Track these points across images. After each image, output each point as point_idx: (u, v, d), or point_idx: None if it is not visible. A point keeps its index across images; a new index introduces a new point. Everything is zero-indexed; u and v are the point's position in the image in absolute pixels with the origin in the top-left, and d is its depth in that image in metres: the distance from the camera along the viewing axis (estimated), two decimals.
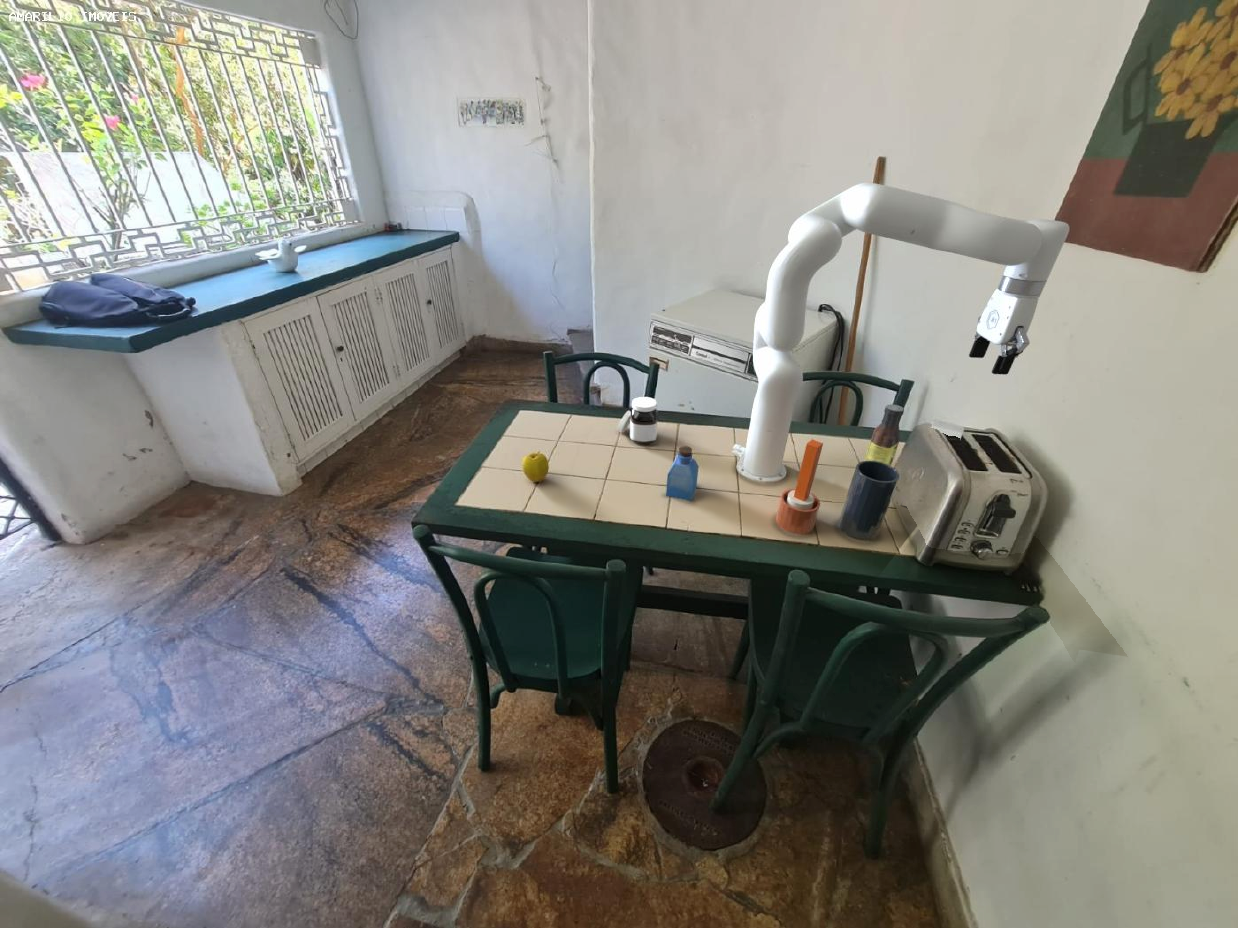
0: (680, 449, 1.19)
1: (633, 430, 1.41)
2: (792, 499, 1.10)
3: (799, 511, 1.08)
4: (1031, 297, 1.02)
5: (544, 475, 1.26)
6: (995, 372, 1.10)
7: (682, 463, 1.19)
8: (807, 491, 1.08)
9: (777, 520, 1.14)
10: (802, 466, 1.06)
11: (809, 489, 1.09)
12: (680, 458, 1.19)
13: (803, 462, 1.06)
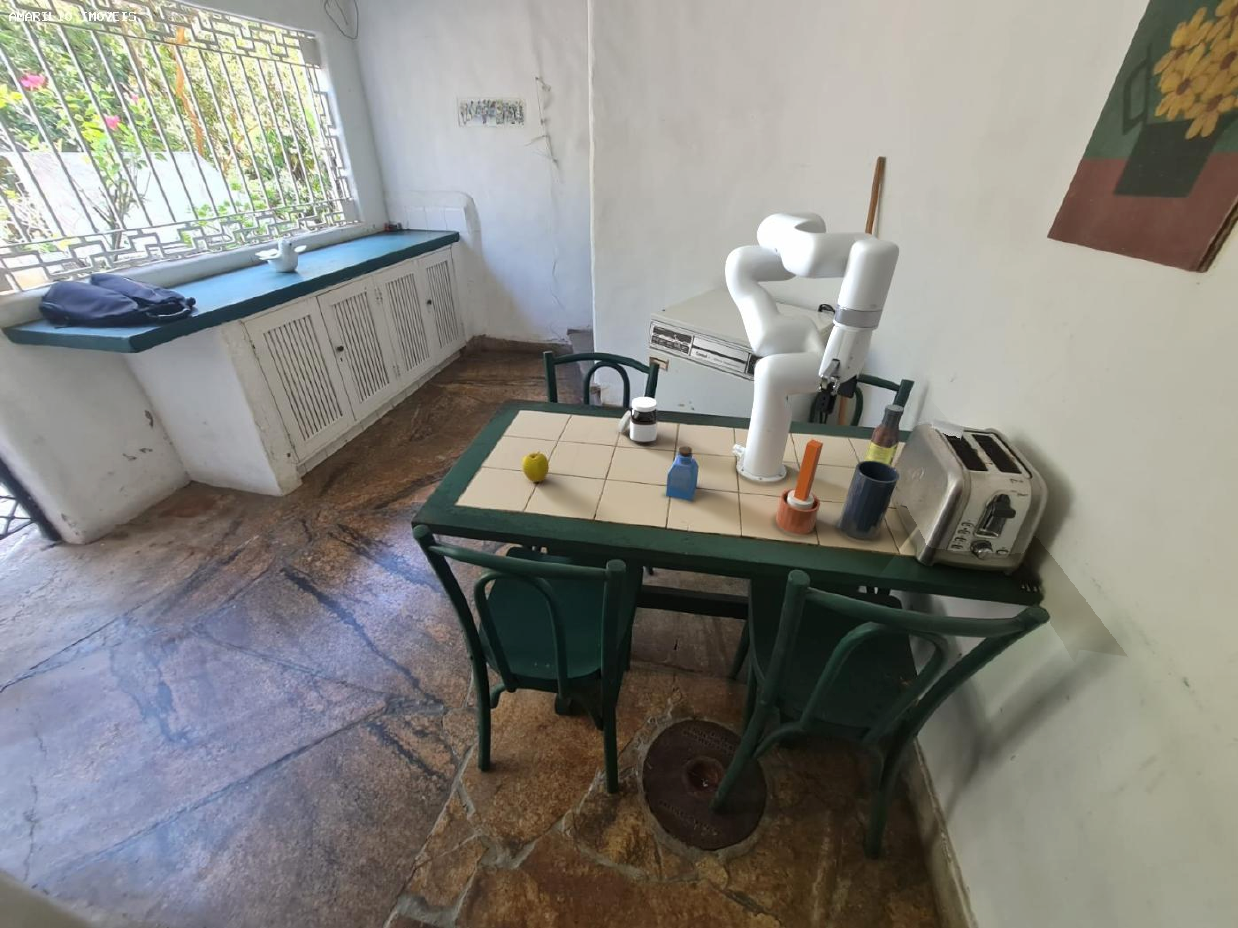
0: (680, 449, 1.19)
1: (633, 430, 1.41)
2: (792, 499, 1.10)
3: (799, 511, 1.08)
4: (849, 328, 0.88)
5: (544, 475, 1.26)
6: (818, 408, 0.97)
7: (682, 463, 1.19)
8: (807, 491, 1.08)
9: (777, 520, 1.14)
10: (802, 466, 1.06)
11: (809, 489, 1.09)
12: (680, 458, 1.19)
13: (803, 462, 1.06)
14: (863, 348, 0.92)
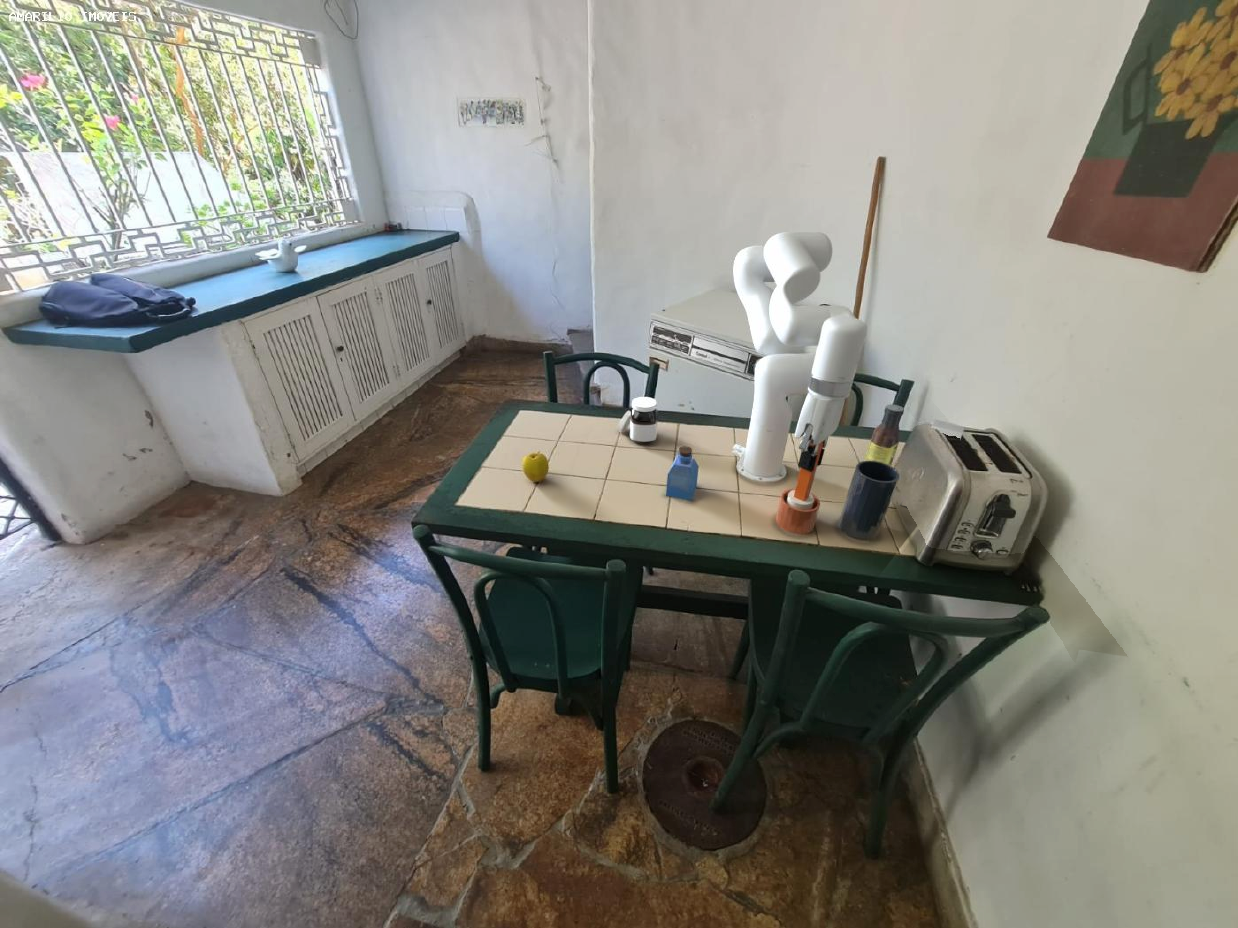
0: (680, 449, 1.19)
1: (633, 430, 1.41)
2: (792, 499, 1.10)
3: (799, 511, 1.08)
4: (822, 396, 0.95)
5: (544, 475, 1.26)
6: (800, 465, 1.06)
7: (682, 463, 1.19)
8: (807, 491, 1.08)
9: (777, 520, 1.14)
10: None
11: (809, 489, 1.09)
12: (680, 458, 1.19)
13: None
14: (836, 413, 0.98)
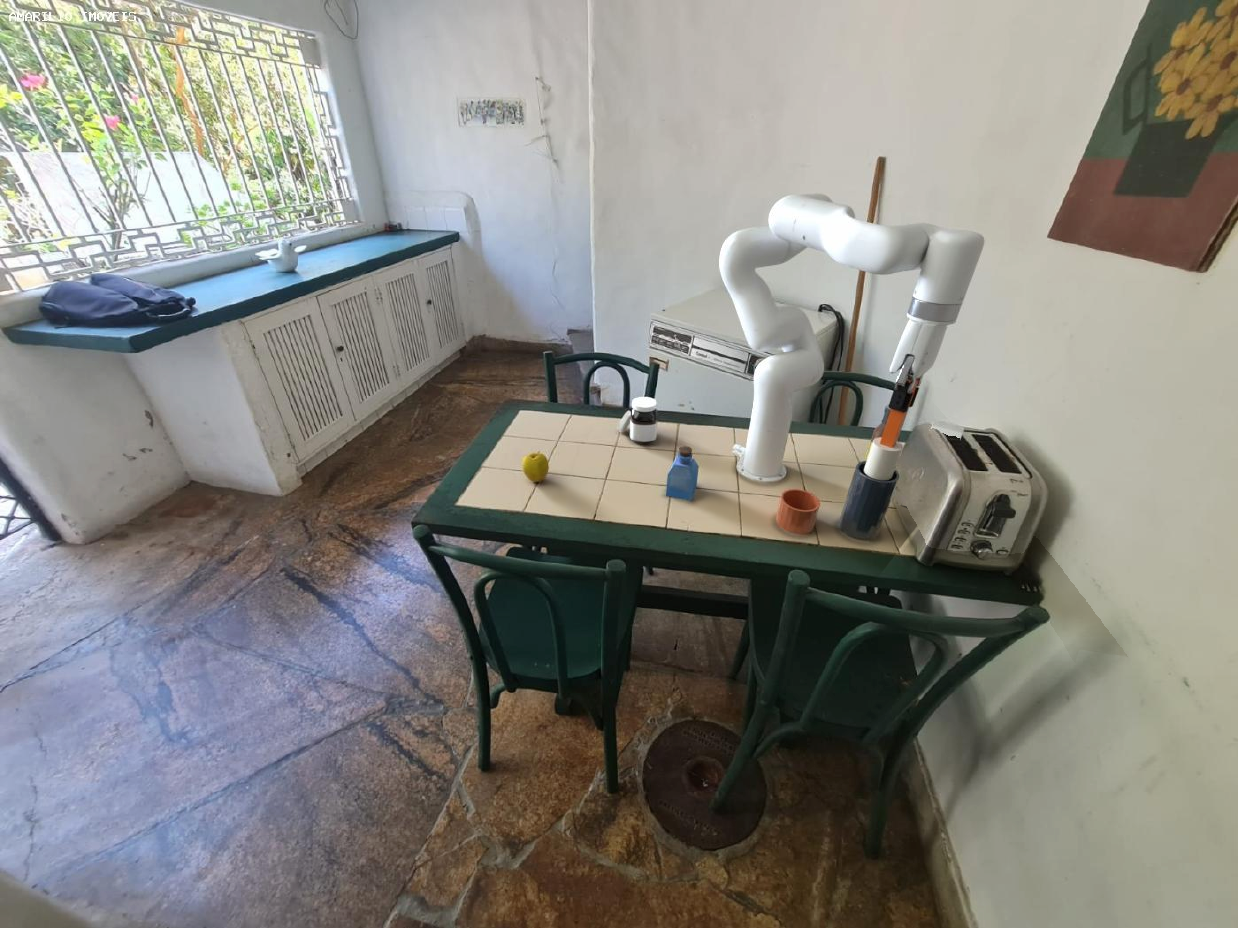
0: (680, 449, 1.19)
1: (633, 430, 1.41)
2: (879, 446, 1.00)
3: (799, 511, 1.08)
4: (926, 322, 0.85)
5: (544, 475, 1.26)
6: (891, 406, 0.96)
7: (682, 463, 1.19)
8: (896, 436, 0.99)
9: (777, 520, 1.14)
10: None
11: (898, 434, 0.99)
12: (680, 458, 1.19)
13: None
14: (938, 343, 0.88)
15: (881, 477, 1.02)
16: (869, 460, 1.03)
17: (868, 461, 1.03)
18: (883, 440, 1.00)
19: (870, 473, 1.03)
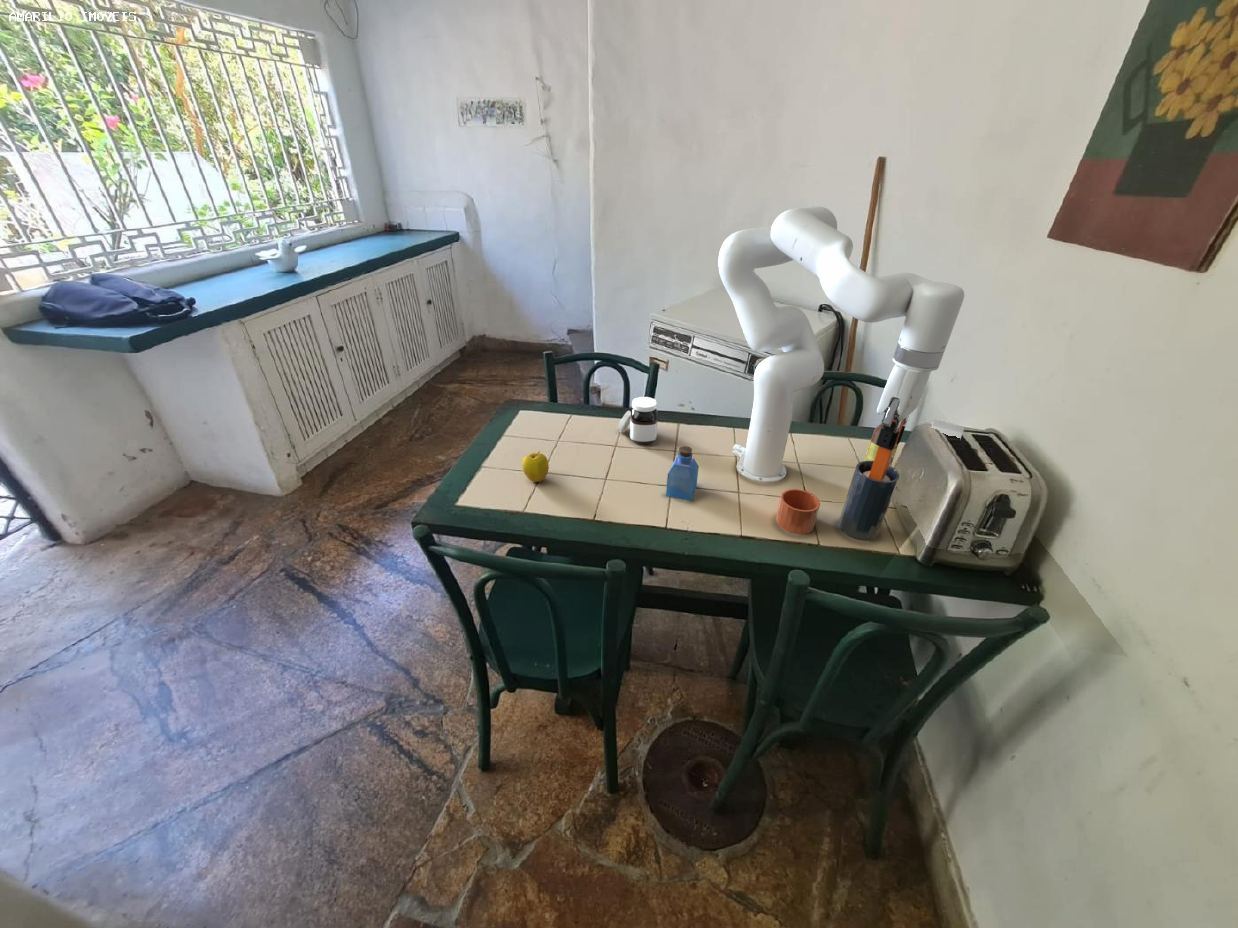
0: (680, 449, 1.19)
1: (633, 430, 1.41)
2: None
3: (799, 511, 1.08)
4: (911, 368, 0.89)
5: (544, 475, 1.26)
6: (879, 444, 1.01)
7: (682, 463, 1.19)
8: (884, 471, 1.03)
9: (777, 520, 1.14)
10: None
11: (886, 469, 1.04)
12: (680, 458, 1.19)
13: None
14: (922, 387, 0.93)
15: None
16: None
17: None
18: (872, 474, 1.05)
19: None
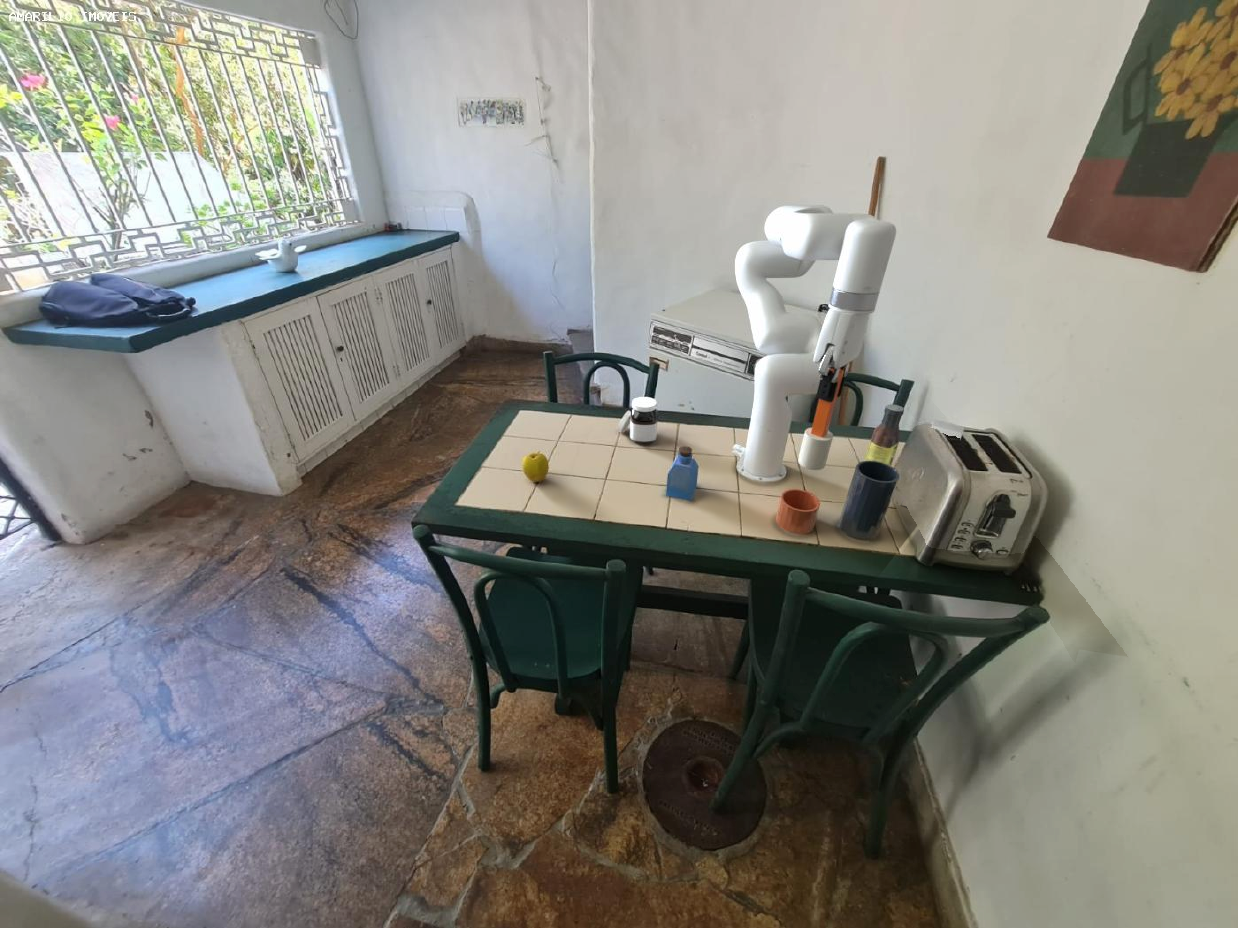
0: (680, 449, 1.19)
1: (633, 430, 1.41)
2: (809, 435, 1.01)
3: (799, 511, 1.08)
4: (844, 311, 0.86)
5: (544, 475, 1.26)
6: (819, 396, 0.97)
7: (682, 463, 1.19)
8: (826, 426, 1.00)
9: (777, 520, 1.14)
10: None
11: (828, 424, 1.00)
12: (680, 458, 1.19)
13: None
14: (859, 333, 0.89)
15: (813, 466, 1.03)
16: (801, 450, 1.04)
17: (801, 451, 1.04)
18: (814, 430, 1.01)
19: (802, 463, 1.04)
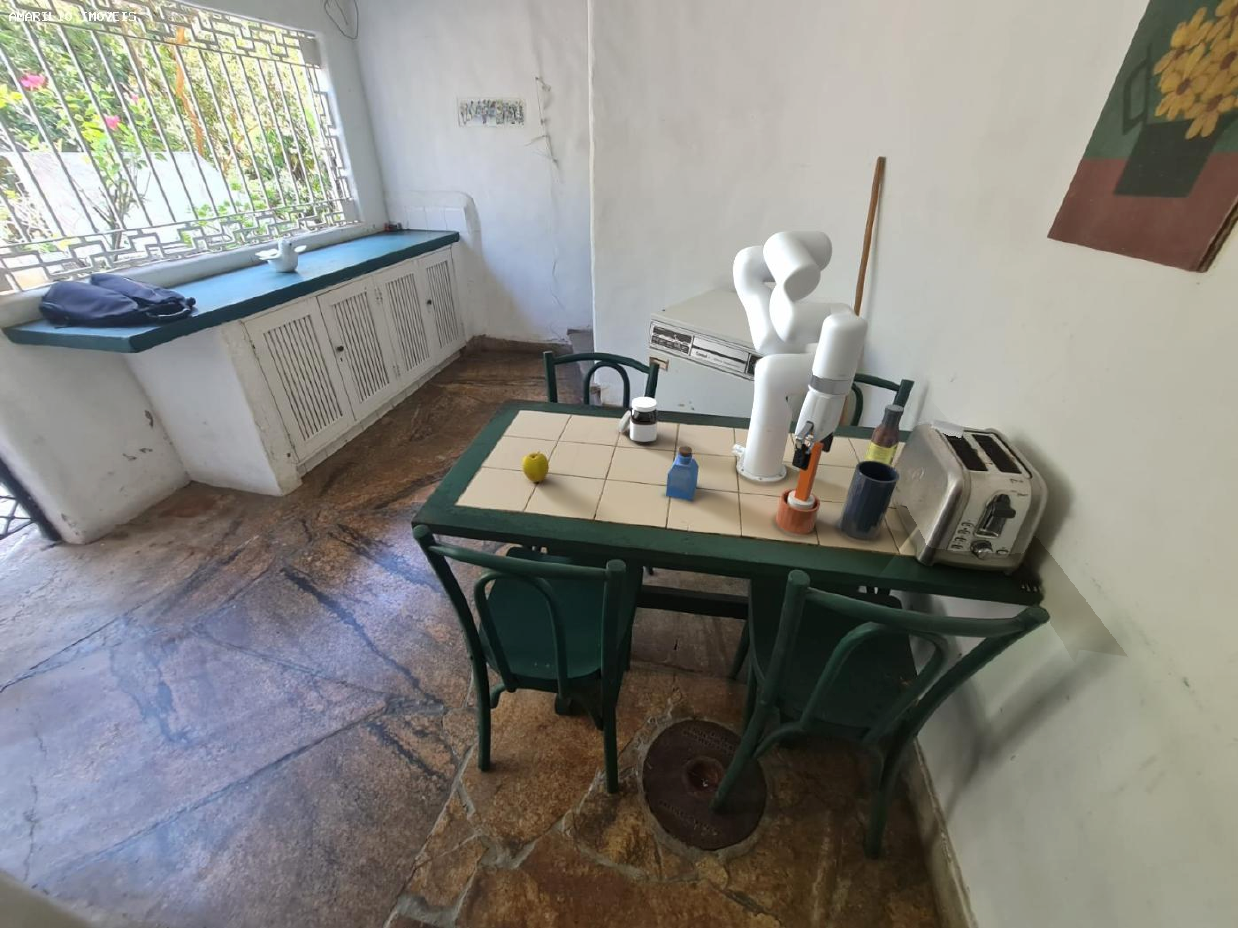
0: (680, 449, 1.19)
1: (633, 430, 1.41)
2: (793, 499, 1.10)
3: (799, 511, 1.08)
4: (822, 394, 0.94)
5: (544, 475, 1.26)
6: (794, 464, 1.03)
7: (682, 463, 1.19)
8: (808, 491, 1.08)
9: (777, 520, 1.14)
10: None
11: (810, 489, 1.09)
12: (680, 458, 1.19)
13: None
14: (836, 411, 0.98)
15: None
16: None
17: None
18: (797, 494, 1.10)
19: None
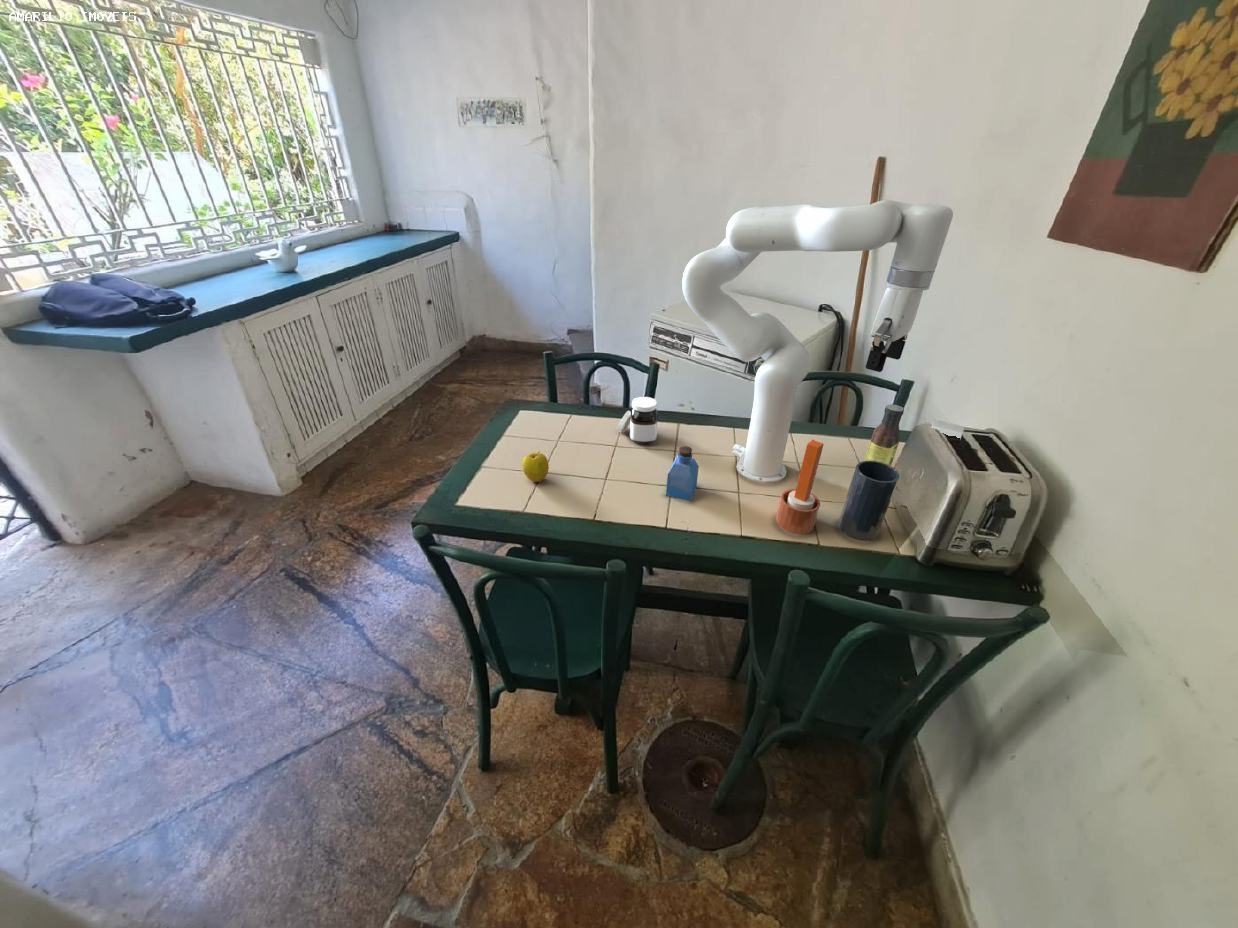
0: (680, 449, 1.19)
1: (633, 430, 1.41)
2: (793, 499, 1.10)
3: (799, 511, 1.08)
4: (902, 288, 0.94)
5: (544, 475, 1.26)
6: (868, 367, 1.03)
7: (682, 463, 1.19)
8: (808, 491, 1.08)
9: (777, 520, 1.14)
10: (803, 466, 1.06)
11: (810, 489, 1.09)
12: (680, 458, 1.19)
13: (804, 462, 1.06)
14: (914, 308, 0.98)
15: None
16: None
17: None
18: (797, 494, 1.10)
19: None
